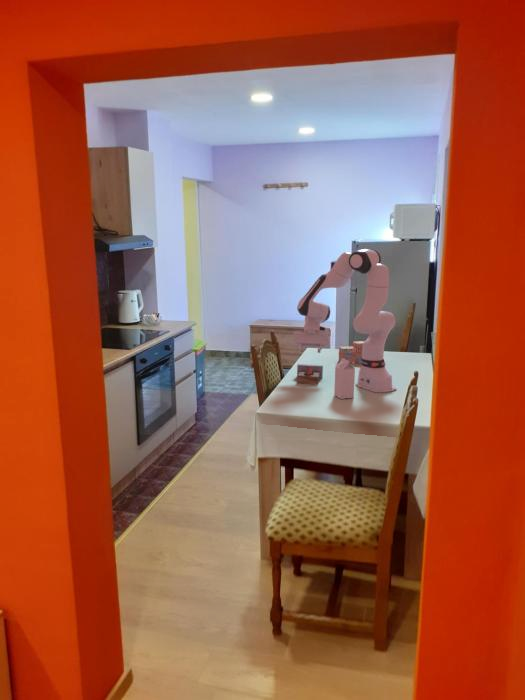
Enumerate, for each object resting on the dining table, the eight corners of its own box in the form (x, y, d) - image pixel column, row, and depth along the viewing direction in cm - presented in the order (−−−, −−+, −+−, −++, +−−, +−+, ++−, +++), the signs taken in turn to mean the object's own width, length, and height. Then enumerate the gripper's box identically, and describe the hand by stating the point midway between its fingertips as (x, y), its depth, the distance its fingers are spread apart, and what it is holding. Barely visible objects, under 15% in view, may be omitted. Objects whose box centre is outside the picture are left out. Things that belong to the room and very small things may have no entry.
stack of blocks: (341, 363, 351) (342, 343, 348) (338, 361, 357) (339, 341, 354) (374, 362, 355) (375, 342, 353) (370, 359, 361) (371, 340, 359)
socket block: (299, 378, 318) (299, 370, 317) (319, 379, 316) (319, 371, 315) (297, 384, 307) (297, 376, 306) (318, 385, 306) (318, 377, 305)
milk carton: (346, 394, 288) (348, 357, 284) (353, 398, 282) (355, 360, 278) (334, 395, 286) (335, 358, 282) (341, 399, 279) (342, 361, 275)
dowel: (313, 380, 311) (313, 366, 309) (307, 381, 310) (308, 367, 308) (310, 379, 314) (310, 365, 312) (305, 379, 312) (305, 365, 311)
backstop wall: (297, 376, 321) (297, 364, 319) (322, 377, 319) (322, 365, 317) (297, 377, 319) (297, 365, 317) (322, 378, 317) (322, 366, 315)
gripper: (292, 327, 319) (291, 348, 311) (329, 328, 316) (328, 349, 308) (293, 333, 324) (291, 354, 317) (329, 334, 321) (328, 355, 314)
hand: (310, 351), depth 313 cm, fingers open, 8 cm apart
